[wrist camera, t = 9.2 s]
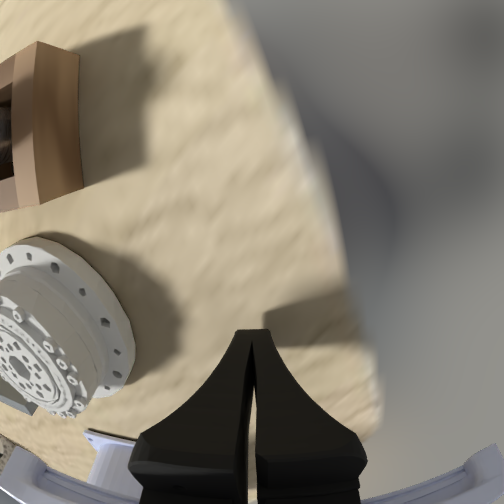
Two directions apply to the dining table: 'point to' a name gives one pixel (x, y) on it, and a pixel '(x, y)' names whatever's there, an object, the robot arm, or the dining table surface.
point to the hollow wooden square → (41, 126)
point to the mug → (5, 451)
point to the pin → (5, 136)
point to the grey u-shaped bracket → (15, 398)
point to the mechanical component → (60, 328)
